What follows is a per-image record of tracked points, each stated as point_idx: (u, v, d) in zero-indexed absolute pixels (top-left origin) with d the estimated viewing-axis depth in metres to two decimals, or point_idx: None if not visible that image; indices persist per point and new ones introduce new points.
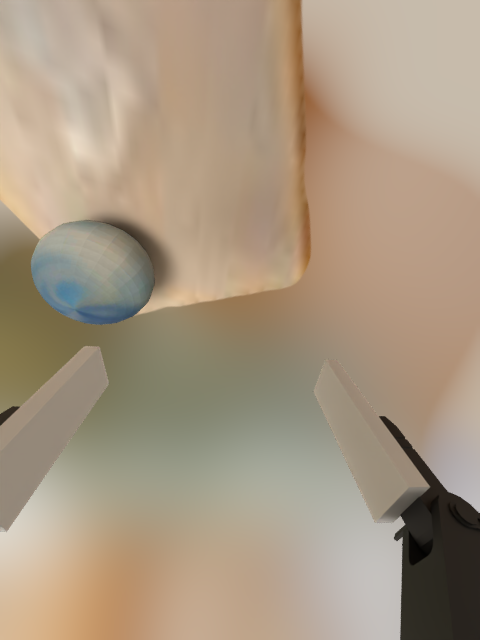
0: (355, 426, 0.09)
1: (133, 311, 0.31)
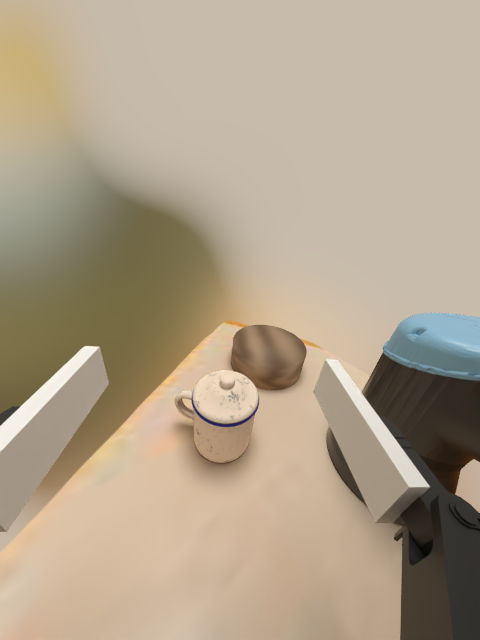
0: (355, 426, 0.09)
1: None
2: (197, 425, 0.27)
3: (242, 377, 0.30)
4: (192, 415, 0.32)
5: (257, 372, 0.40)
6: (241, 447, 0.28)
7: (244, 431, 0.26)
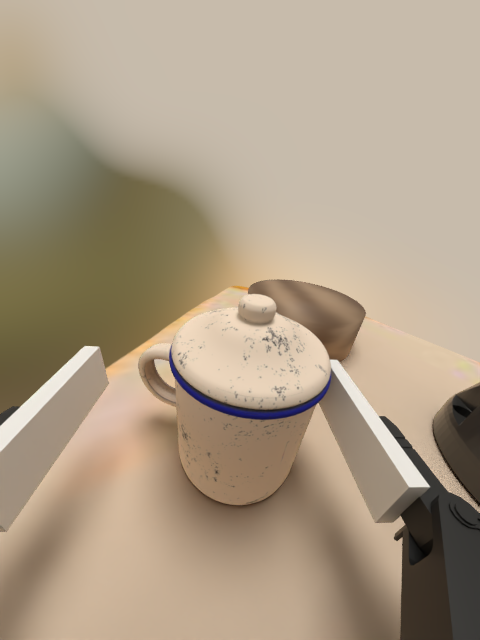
0: (355, 426, 0.09)
1: None
2: (182, 417, 0.11)
3: None
4: None
5: None
6: (285, 469, 0.12)
7: (300, 432, 0.11)
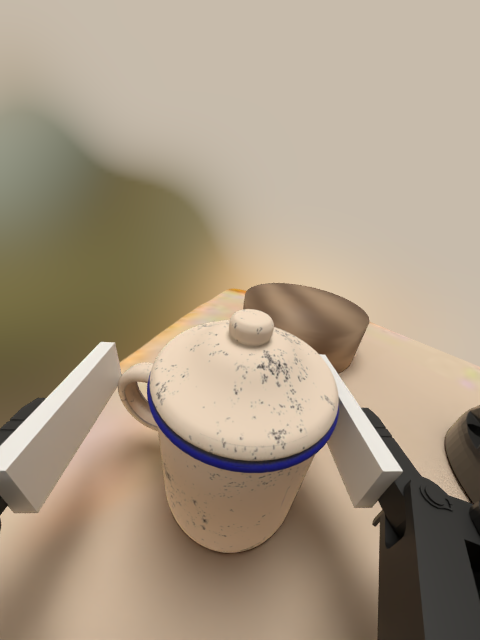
0: (338, 417, 0.10)
1: None
2: (164, 455, 0.09)
3: (281, 332, 0.12)
4: None
5: None
6: (286, 511, 0.10)
7: (303, 474, 0.09)
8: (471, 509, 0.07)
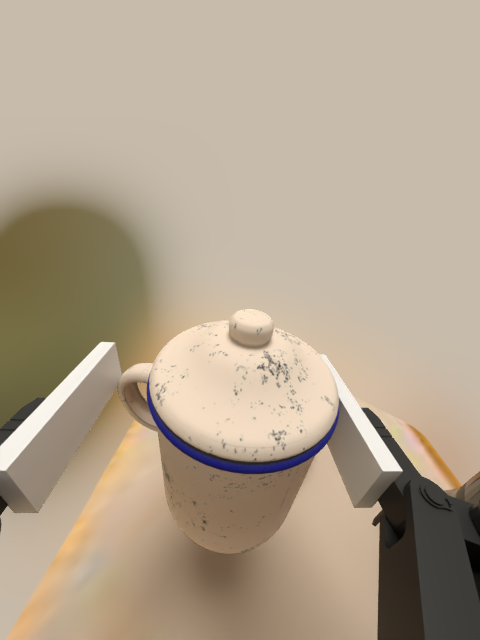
0: (338, 417, 0.10)
1: None
2: (164, 456, 0.09)
3: (281, 332, 0.12)
4: None
5: None
6: (286, 511, 0.10)
7: (303, 475, 0.09)
8: (471, 509, 0.07)
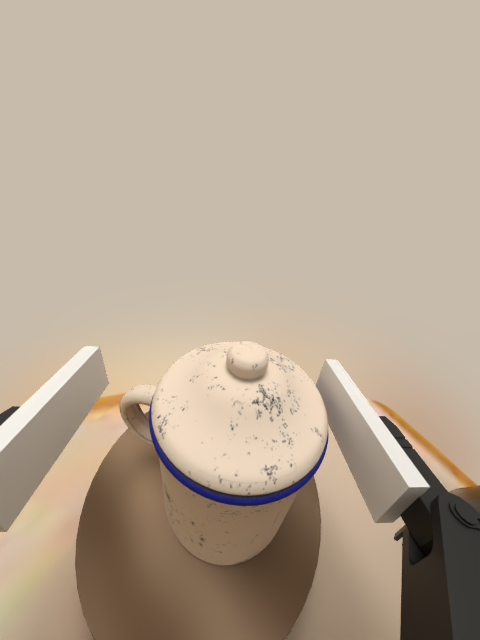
0: (355, 426, 0.09)
1: None
2: (164, 479, 0.10)
3: (276, 356, 0.13)
4: None
5: None
6: (278, 527, 0.11)
7: (293, 497, 0.10)
8: None
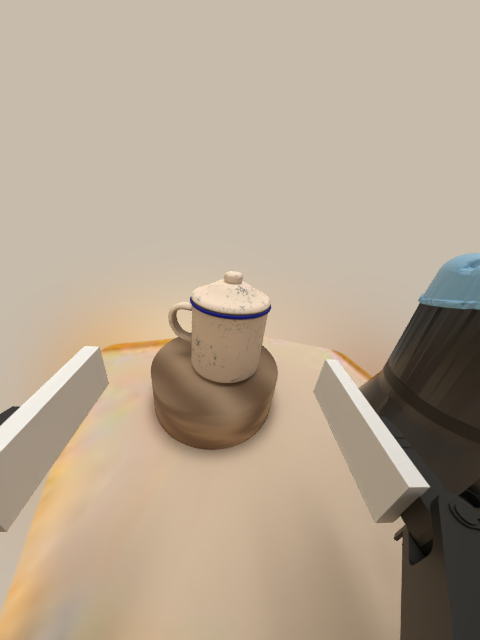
0: (355, 426, 0.09)
1: None
2: (197, 331, 0.22)
3: None
4: None
5: (232, 425, 0.21)
6: (250, 362, 0.23)
7: (255, 336, 0.22)
8: None
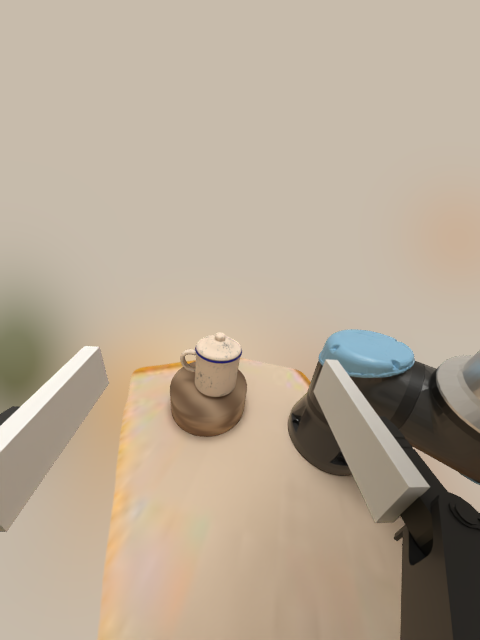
0: (355, 426, 0.09)
1: None
2: (200, 369, 0.39)
3: (228, 338, 0.43)
4: (193, 370, 0.43)
5: (217, 422, 0.38)
6: (231, 383, 0.40)
7: (233, 369, 0.39)
8: None
